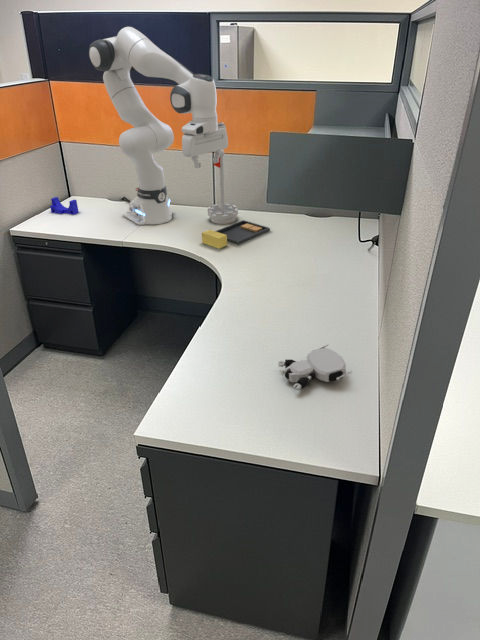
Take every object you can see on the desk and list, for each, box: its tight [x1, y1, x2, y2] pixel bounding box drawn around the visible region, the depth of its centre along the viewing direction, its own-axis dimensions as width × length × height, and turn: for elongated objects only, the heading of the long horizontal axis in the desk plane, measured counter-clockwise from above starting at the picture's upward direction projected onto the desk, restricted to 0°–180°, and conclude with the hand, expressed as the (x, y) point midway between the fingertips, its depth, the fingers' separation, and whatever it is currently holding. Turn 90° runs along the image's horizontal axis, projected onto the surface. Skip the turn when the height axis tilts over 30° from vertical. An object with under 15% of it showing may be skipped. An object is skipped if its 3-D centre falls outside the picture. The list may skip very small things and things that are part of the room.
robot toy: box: [277, 343, 353, 391], centre depth 121 cm, size 12×4×15 cm
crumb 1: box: [241, 223, 254, 230], centre depth 208 cm, size 4×4×1 cm
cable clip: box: [49, 196, 80, 216], centre depth 227 cm, size 12×4×6 cm, turn 66°
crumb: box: [249, 226, 262, 232], centre depth 205 cm, size 4×4×1 cm
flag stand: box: [207, 149, 239, 225], centre depth 209 cm, size 13×13×30 cm
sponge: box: [201, 229, 228, 250], centre depth 191 cm, size 9×4×5 cm, turn 48°
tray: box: [215, 219, 271, 246], centre depth 202 cm, size 15×20×2 cm
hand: (206, 165), depth 184 cm, fingers open, 8 cm apart
